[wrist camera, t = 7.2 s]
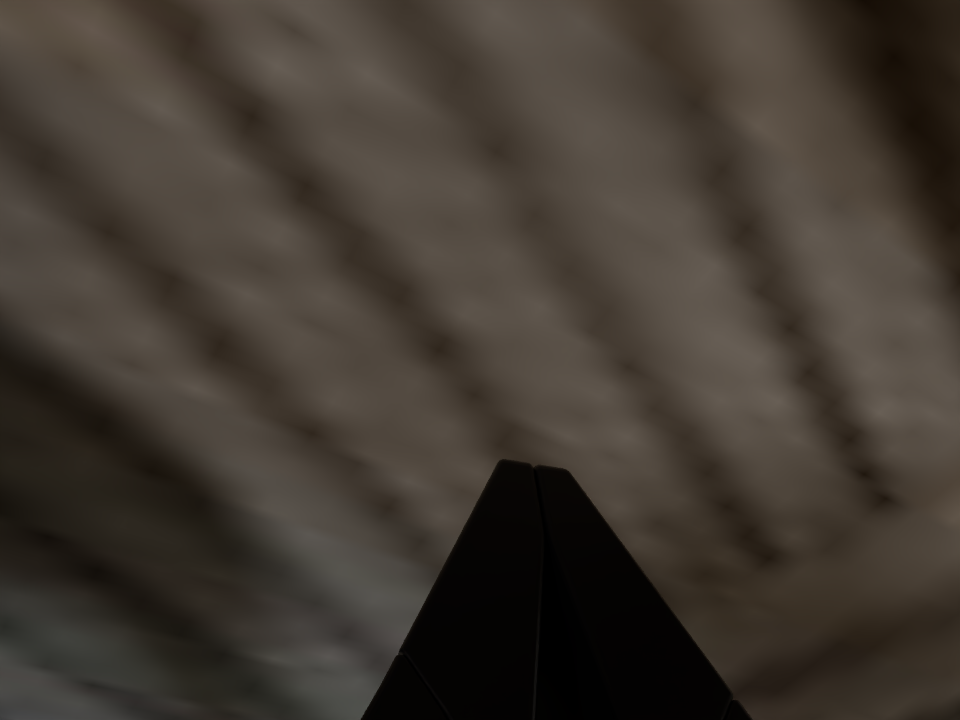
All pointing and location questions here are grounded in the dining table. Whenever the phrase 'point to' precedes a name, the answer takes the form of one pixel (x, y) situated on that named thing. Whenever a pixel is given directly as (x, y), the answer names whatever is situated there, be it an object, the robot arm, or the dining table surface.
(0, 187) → the dining table surface
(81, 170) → the dining table surface
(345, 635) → the dining table surface
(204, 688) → the dining table surface
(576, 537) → the robot arm
